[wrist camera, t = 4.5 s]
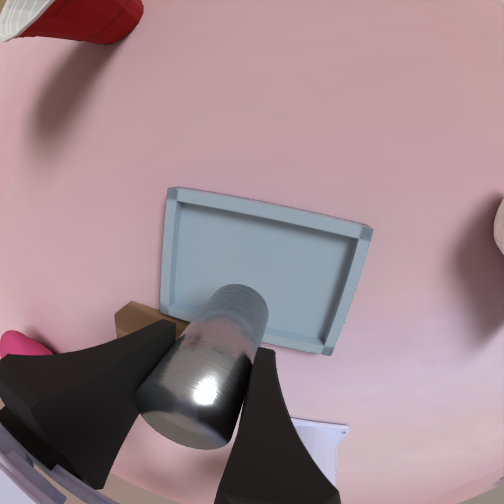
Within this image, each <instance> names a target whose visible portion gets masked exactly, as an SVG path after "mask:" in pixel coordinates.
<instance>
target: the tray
mask: <svg viewBox="0 0 504 504" xmlns="http://www.w3.org/2000/svg"><path fill="white" fill-rule="evenodd" d="M372 233H373V229H372V228H371V227H370V226H368V225H365V224H361V223H357V222H353V221H349V220H345V219H341V218H337V217H333V216H328V215H324V214H320V213H315V212H311V211H307V210H302V209H297V208H293V207H288V206H283V205H279V204H274V203H269V202H264V201H259V200H253V199H248V198H243V197H238V196H232V195H226V194H221V193H215V192H209V191H203V190H197V189H191V188H184V187H171V188H168V193H167V202H166V211H165V222H164V234H163V248H162V265H161V290H160V312H161V313H164V314H167V315H170V316H173V317H176V318H179V319H182V320H185V321H189V322H191V321H192V320H193V319H194V318H195V316H196V315H197V314H198V313H199V311H200V310H201V309H202V307H203V306H204V305H205V304H206V302H207V301H208V300H209V299H210V297H211V296H212V295H213V294H214V292H215V291H216V290H218V289H219V288H221V287H222V286H225V285H229V284H242V285H245V286H248V287H250V288H252V289H254V290H255V291H257V292H258V293H259V294H260V295H261V296H262V297H263V299H264V300H265V302H266V304H267V307H268V311H269V317H268V322H267V325H266V329H265V332H264V336H263V339H262V342H266V343H270V344H274V345H279V346H283V347H288V348H292V349H297V350H302V351H307V352H312V353H317V354H323V355H328V356H331V355H332V352H333V350H334V347H335V345H336V342H337V340H338V337H339V335H340V332H341V330H342V327H343V324H344V322H345V319H346V316H347V313H348V311H349V308H350V305H351V302H352V299H353V296H354V293H355V290H356V287H357V284H358V281H359V278H360V275H361V272H362V268H363V265H364V262H365V258H366V255H367V251H368V248H369V244H370V241H371V237H372Z"/></svg>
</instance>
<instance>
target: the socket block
mask: <svg viewBox="0 0 504 504" xmlns="http://www.w3.org/2000/svg"><path fill="white" fill-rule="evenodd" d="M162 319H165V320H168V321H171V322H174V323H176V340H177V339H178V338H179V337H180V335H181V334H182V333H183V331H184V330H185V329H186V328H187V326H188V325H189V324H190V323H191V322H189V321H185V320H182V319H179V318H176V317H173V316H170V315H167V314H164V313H161V312H160V311H159V310H156V309H153V308H150V307H148V306H145V305H142V304H139V303H136V302H133V301H131V302H129V303H128V304H127V305H126V306H124V307H123V308H122V309H120V310H119V311H118V312H117V313H115V324H116V333H117V339H118V338H121V337H123V336H126V335H128V334H130V333H132V332H135V331H137V330H139V329H141V328H144V327H146V326H148V325H150V324H152V323H155V322H157V321H159V320H162Z"/></svg>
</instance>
